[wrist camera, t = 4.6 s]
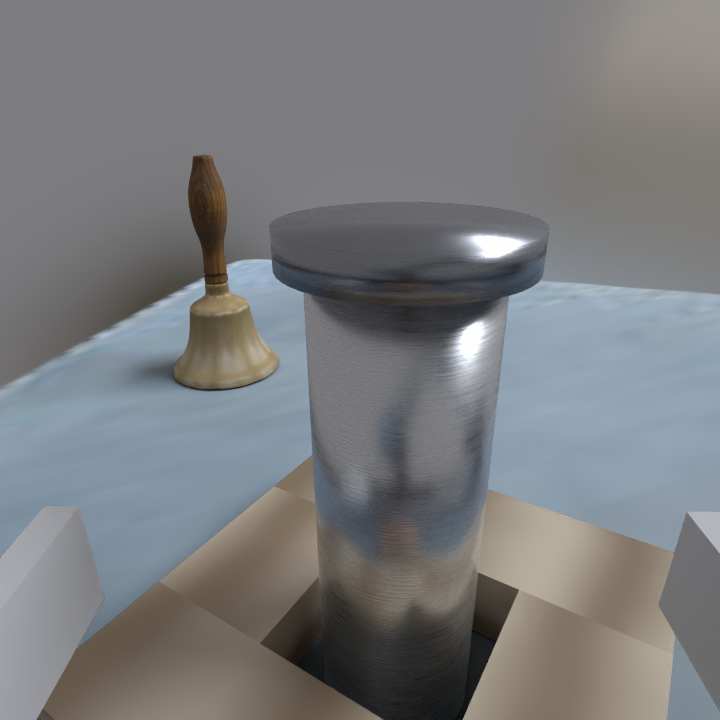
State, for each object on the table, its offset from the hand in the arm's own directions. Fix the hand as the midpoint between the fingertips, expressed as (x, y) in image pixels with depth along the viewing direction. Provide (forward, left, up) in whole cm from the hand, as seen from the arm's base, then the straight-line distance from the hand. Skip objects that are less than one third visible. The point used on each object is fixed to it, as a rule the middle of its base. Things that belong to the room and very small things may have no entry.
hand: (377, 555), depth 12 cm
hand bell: (+25, -20, -10) cm, 33 cm away
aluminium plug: (+1, -4, -9) cm, 10 cm away
